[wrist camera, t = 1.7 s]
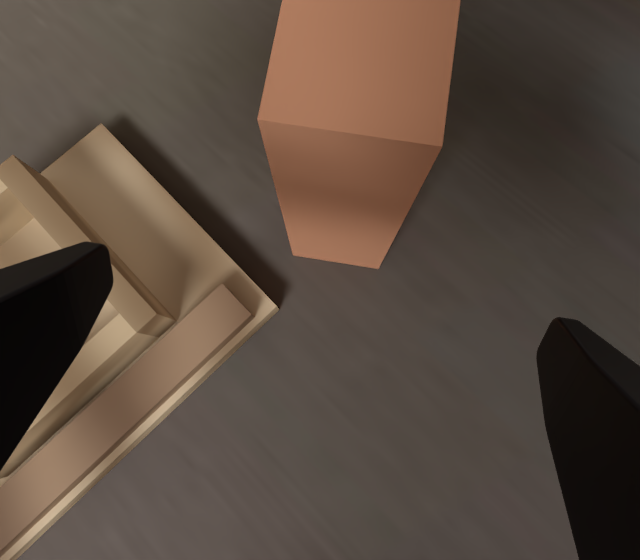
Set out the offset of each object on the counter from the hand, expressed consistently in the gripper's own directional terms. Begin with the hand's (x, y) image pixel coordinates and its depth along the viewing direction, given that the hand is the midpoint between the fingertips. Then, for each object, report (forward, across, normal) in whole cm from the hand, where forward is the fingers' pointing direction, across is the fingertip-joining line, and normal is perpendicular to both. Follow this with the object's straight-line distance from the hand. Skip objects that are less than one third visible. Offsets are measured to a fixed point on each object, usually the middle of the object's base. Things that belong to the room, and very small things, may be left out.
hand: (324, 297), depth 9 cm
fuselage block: (+12, 0, +4) cm, 13 cm away
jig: (+7, +12, +10) cm, 17 cm away
